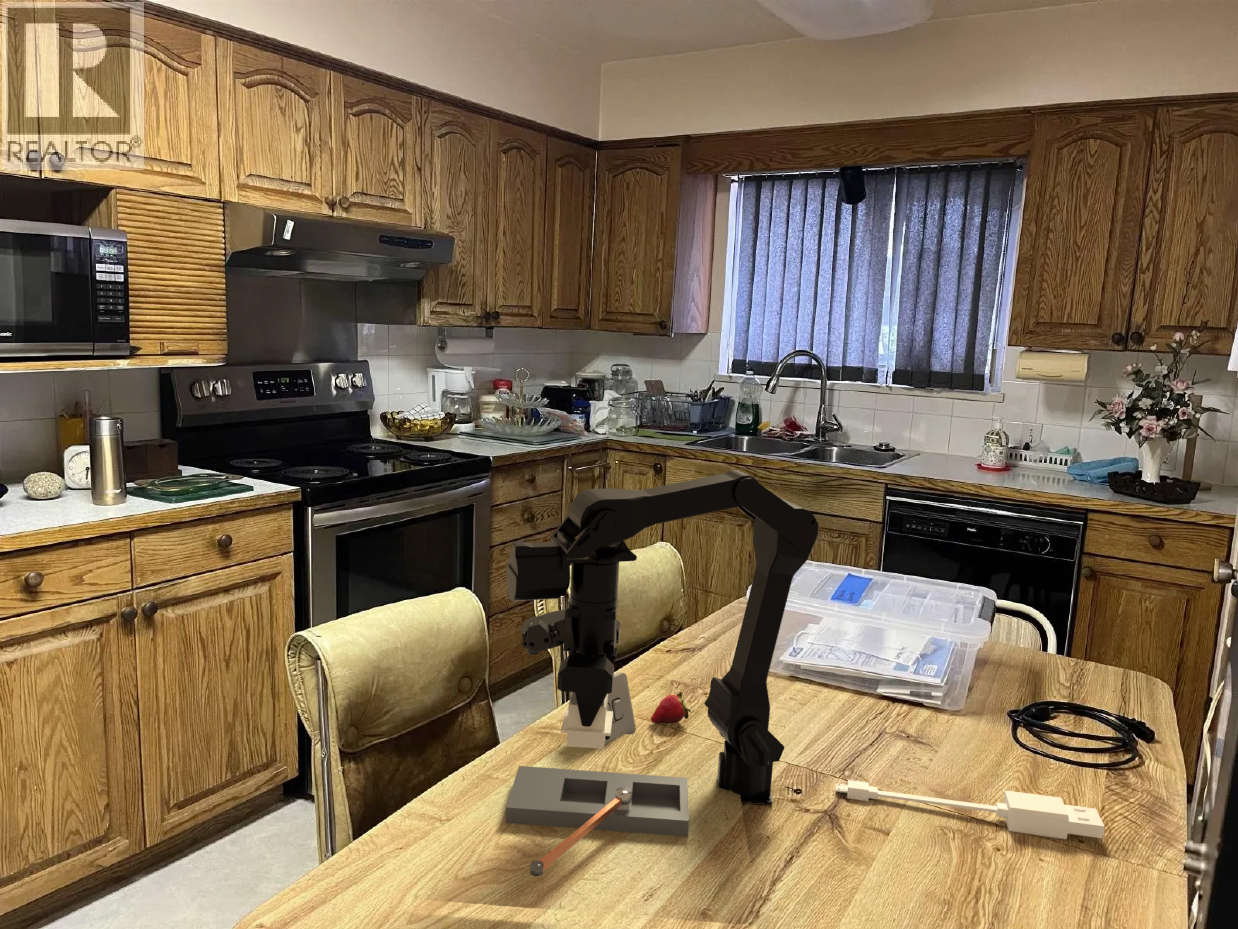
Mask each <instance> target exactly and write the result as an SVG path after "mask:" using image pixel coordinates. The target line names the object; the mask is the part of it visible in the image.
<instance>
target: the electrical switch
mask: <svg viewBox="0 0 1238 929" xmlns="http://www.w3.org/2000/svg"><path fill="white" fill-rule="evenodd" d="M631 699H632V698H631V694H630V687H629V682H628V676H627V674H626V673H625V672H618V673H614V678H613V688H612V693H609V694H608V703H607V711H613V719H612V727H611V735H610V736H605V743H604V746H605V745H606V744H609V743H611V742H612V741H614V740H616V739H617V738H620V737H621V736H623V735H634V734H635V733H636V730H637V727H636V721H635V715H634V710H633V704H632V700H631Z"/></svg>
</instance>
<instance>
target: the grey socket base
mask: <svg viewBox="0 0 1238 929" xmlns="http://www.w3.org/2000/svg"><path fill="white" fill-rule="evenodd" d="M511 787H512V788H511V790H510V794H509V797H508V800H507V802H506V807H505V824H516V825H526V826H527V825H528V826H539V827H540V826H541V827H543V826H544V827H553V828H554V827H556V828H569V829H579V828H580V827H581V826H582V825H583V824H585V823H586V822H587V821H588V820H589V819H591V818H592V817H593V816H594V815H596V814H597V813H598V812H599V811H600V810H602V809H603V808H604V807H605V806H606V805H608V804H609V803H610V802H611V801H613V800H614V799H615V793H616V789H617V788H619V787H627V788H630V789H631V790H632V801H631V803H630V804H627V805H621V806H620V807H618V808H617V809H616V810H615V811H614V812H612V813H611V814H610V815H609V816H608V817H607V818H605V819H604V820H603V821H602V822H601V823H599V824H598V825H597V826H596V827H595V828H593V829H592V830H595V831H610V832H623V833H624V832H625V833H633V834H634V833H636V834H649V835H650V834H652V835H664V836H665V835H666V836H675V837H676V836H678V837H689V830H690V829H689V826H690V811H689V810H690V808H689V786H688V777H682V776H681V777H680V776H679V777H678V776H665V775H653V774H637V773H627V772H626V773H625V772H611V771H610V772H609V771H595V770H583V769H569V768H556V767H555V768H554V767H543V766H542V767H541V766H539V767H538V766H527V765H518V769H517V772H516V775H515V778H514V781H513V784H512V786H511Z"/></svg>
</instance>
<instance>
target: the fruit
mask: <svg viewBox="0 0 1238 929" xmlns="http://www.w3.org/2000/svg"><path fill="white" fill-rule="evenodd" d="M691 712H692V710H691V709H689V708H688V707H687V706H686V703H685V700H684V699H683V693H682V692H681V691H679V693H676V694H670V695H666V696H665V697H664V698H663V699H662V700H660V702H659V704H658V706H656V707H655V711H654V712H653V714H652V715H651V717H650V722H652V723H653V724H657V725H659V724H661V725H675V724H677V723H680V722H681V721H682V720H683V718H684V719H686V720H687V719H689V717H690V715H689V713H691Z"/></svg>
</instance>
